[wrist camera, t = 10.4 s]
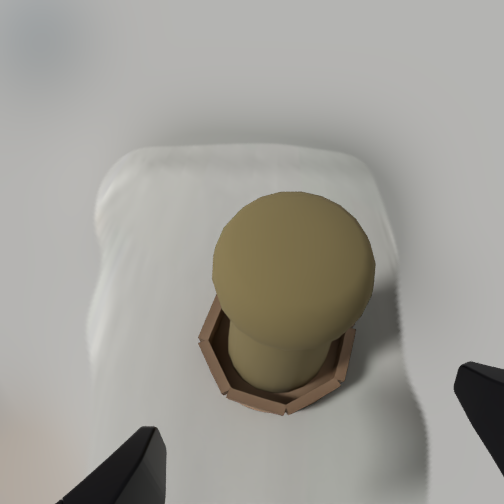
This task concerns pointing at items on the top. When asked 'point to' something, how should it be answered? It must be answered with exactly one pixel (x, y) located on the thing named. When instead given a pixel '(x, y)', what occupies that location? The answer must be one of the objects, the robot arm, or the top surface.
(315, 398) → the walnut stand
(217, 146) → the top surface
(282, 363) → the cork
